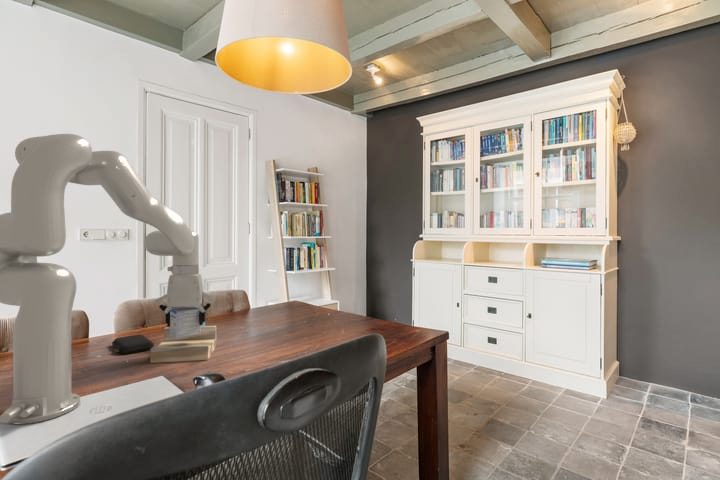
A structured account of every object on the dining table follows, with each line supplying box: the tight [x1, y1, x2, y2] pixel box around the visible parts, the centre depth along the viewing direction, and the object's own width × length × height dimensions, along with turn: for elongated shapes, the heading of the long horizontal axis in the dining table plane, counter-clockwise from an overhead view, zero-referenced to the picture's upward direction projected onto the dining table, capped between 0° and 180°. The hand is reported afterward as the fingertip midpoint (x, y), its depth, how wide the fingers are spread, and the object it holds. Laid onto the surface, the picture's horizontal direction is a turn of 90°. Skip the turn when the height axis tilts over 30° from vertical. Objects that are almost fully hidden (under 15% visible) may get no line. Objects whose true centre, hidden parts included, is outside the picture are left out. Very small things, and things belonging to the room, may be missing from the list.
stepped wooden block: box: [149, 325, 217, 364], centre depth 119 cm, size 14×16×7 cm
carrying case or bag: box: [111, 334, 155, 355], centre depth 124 cm, size 11×3×15 cm
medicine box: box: [169, 307, 201, 339], centre depth 118 cm, size 8×4×9 cm, turn 143°
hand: (185, 324), depth 119 cm, fingers closed on medicine box, 8 cm apart
